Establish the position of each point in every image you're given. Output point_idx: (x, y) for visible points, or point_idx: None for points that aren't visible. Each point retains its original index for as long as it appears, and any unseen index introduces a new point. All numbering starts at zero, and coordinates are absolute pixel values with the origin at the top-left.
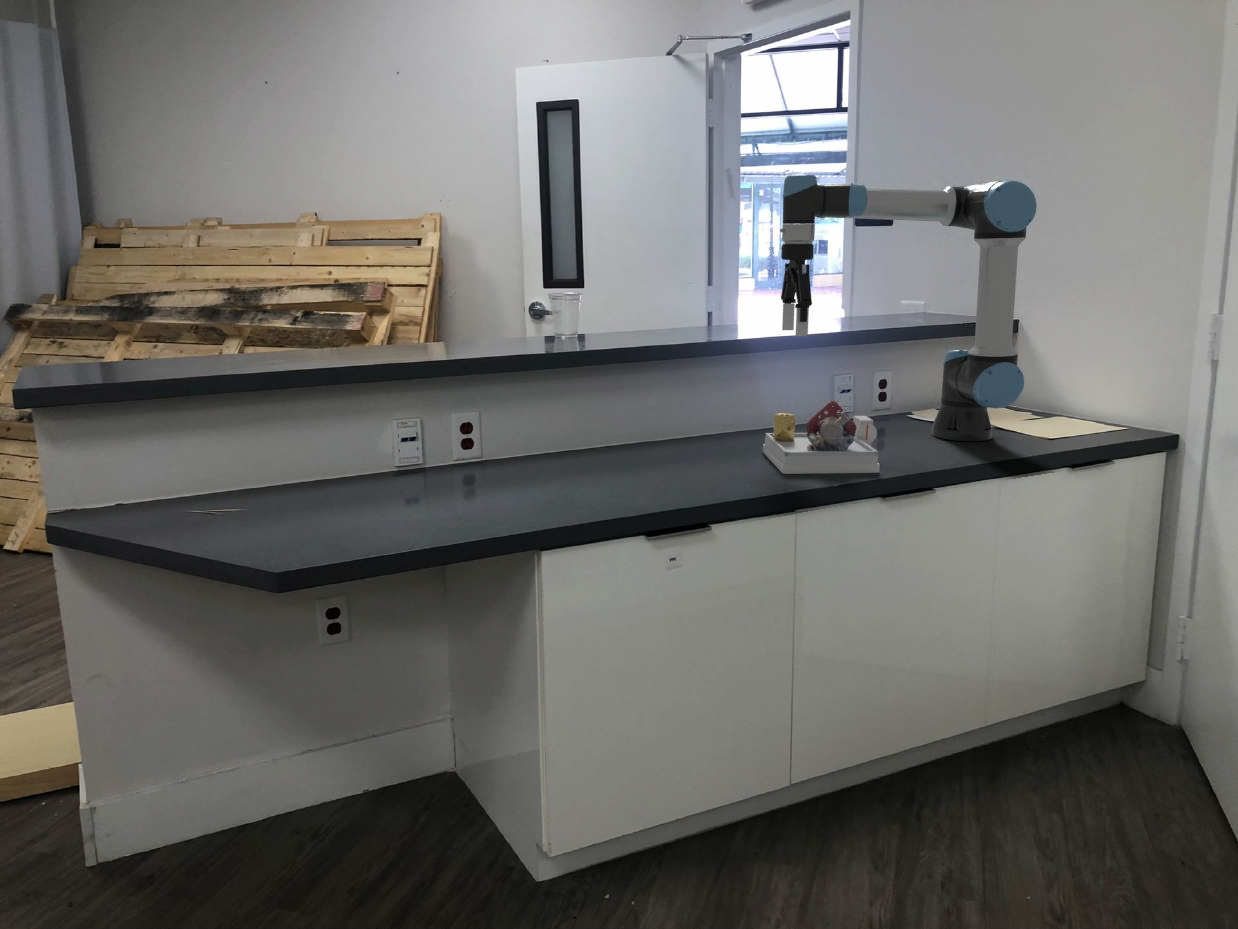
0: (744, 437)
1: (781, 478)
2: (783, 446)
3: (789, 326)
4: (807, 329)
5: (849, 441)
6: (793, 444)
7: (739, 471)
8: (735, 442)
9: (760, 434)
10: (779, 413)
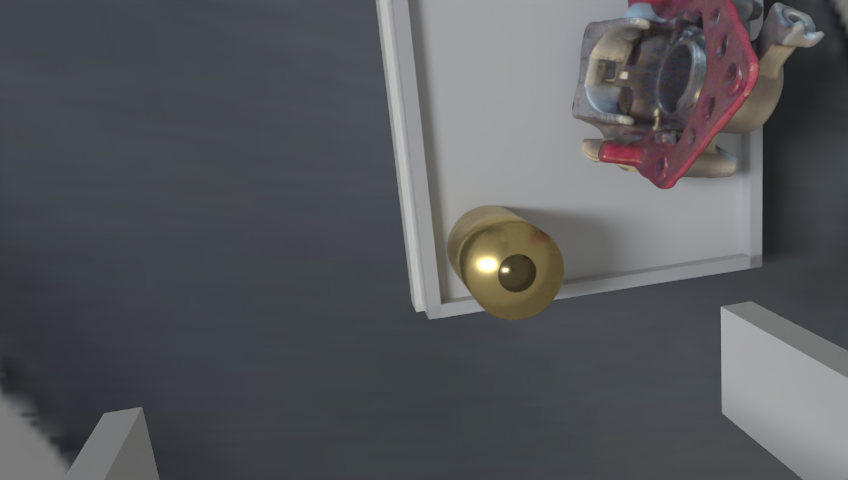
0: (141, 363)
1: (777, 261)
2: (609, 257)
3: (143, 477)
4: (792, 328)
5: (758, 16)
6: (574, 216)
7: (691, 382)
8: (249, 397)
9: (61, 296)
10: (475, 294)
